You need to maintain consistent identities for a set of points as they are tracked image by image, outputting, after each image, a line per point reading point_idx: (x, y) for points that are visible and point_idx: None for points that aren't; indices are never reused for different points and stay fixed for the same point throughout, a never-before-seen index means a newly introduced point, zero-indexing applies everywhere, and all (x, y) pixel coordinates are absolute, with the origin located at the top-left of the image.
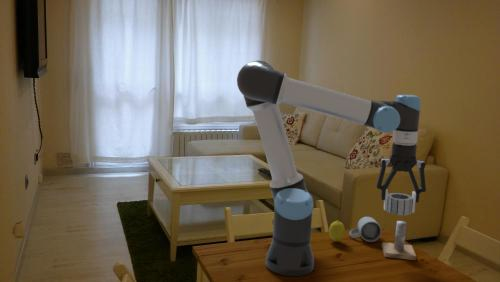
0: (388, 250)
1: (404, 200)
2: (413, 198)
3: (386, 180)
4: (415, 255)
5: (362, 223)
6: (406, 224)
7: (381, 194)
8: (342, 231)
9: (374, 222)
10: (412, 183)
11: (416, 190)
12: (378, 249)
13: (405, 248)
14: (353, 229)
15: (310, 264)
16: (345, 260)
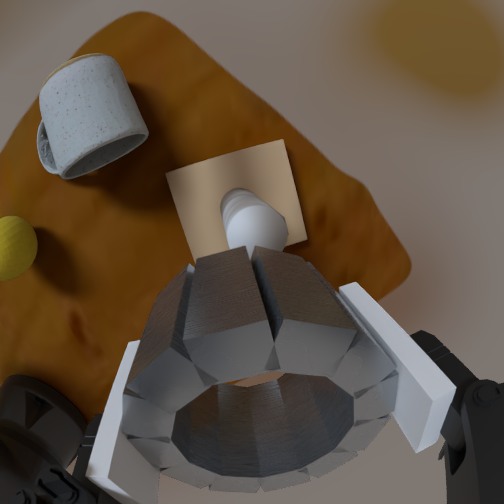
0: (205, 246)
1: (311, 473)
2: (396, 418)
3: None
4: (304, 236)
5: (53, 154)
6: (286, 238)
7: (89, 456)
8: (24, 264)
9: (97, 147)
10: (472, 501)
11: (454, 463)
12: (163, 212)
13: (264, 187)
14: (43, 123)
15: (82, 439)
16: (107, 351)
